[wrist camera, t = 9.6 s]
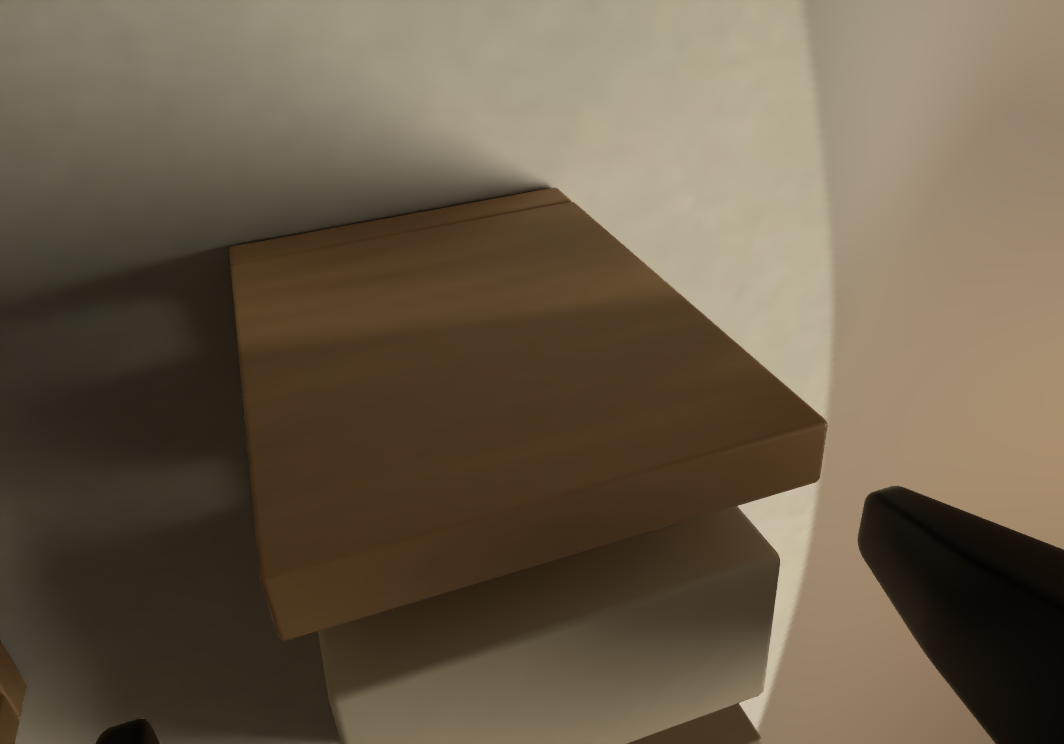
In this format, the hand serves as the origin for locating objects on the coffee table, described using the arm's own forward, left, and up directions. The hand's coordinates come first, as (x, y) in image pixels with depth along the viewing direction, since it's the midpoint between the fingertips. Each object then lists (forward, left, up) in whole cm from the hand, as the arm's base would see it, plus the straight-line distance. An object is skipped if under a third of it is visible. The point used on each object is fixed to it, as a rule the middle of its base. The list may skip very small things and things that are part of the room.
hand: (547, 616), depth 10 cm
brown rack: (-4, 0, -7) cm, 8 cm away
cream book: (0, 0, -6) cm, 6 cm away
